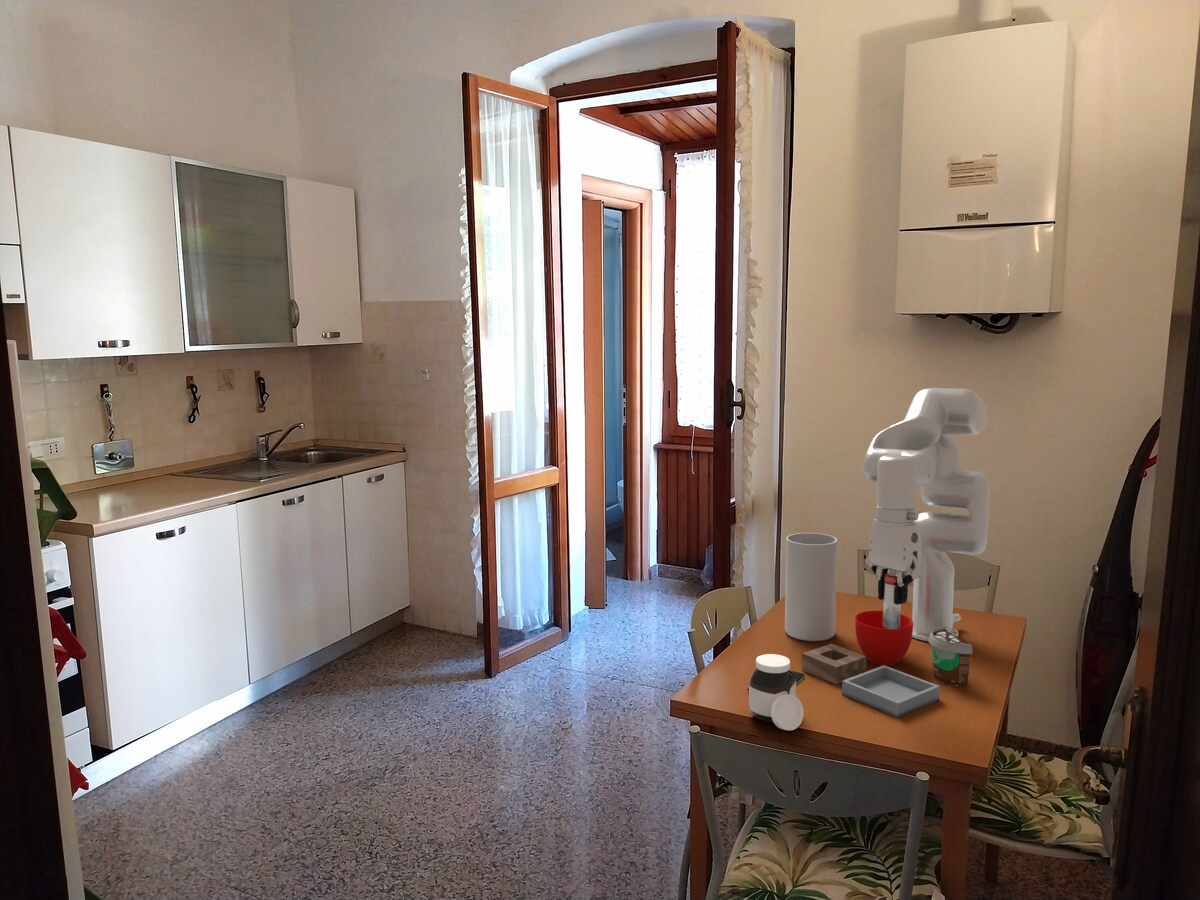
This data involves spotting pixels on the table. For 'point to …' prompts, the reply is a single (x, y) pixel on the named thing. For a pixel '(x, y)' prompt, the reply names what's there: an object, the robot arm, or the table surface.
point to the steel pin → (890, 603)
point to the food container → (950, 657)
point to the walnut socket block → (833, 663)
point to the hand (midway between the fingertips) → (892, 599)
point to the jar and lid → (775, 692)
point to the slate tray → (891, 690)
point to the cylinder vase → (810, 586)
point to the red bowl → (882, 637)
